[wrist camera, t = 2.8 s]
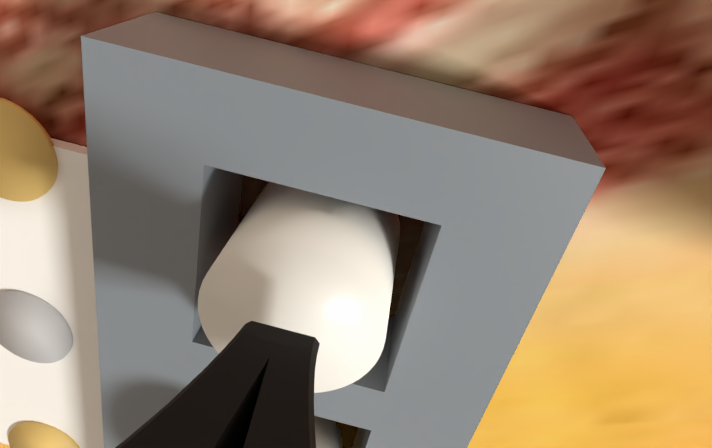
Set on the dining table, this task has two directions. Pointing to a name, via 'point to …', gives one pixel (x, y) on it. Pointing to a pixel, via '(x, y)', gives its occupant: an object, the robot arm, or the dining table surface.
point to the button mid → (327, 433)
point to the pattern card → (46, 290)
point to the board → (329, 178)
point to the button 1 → (307, 278)
